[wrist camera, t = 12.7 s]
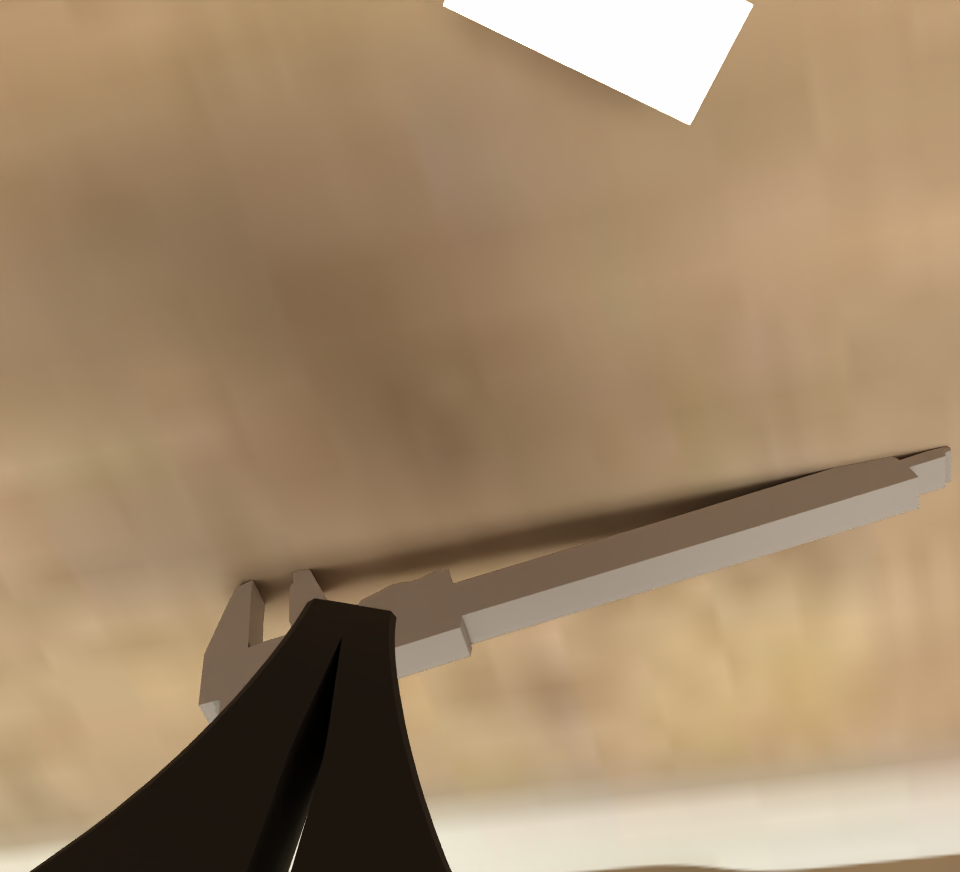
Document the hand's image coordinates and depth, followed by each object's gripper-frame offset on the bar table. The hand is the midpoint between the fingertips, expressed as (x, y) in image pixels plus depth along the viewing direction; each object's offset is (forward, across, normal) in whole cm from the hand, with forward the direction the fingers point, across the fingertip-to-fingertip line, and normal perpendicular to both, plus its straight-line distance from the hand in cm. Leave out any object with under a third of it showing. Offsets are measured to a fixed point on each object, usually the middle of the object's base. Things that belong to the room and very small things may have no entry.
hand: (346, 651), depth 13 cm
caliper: (+10, -5, +4) cm, 12 cm away
